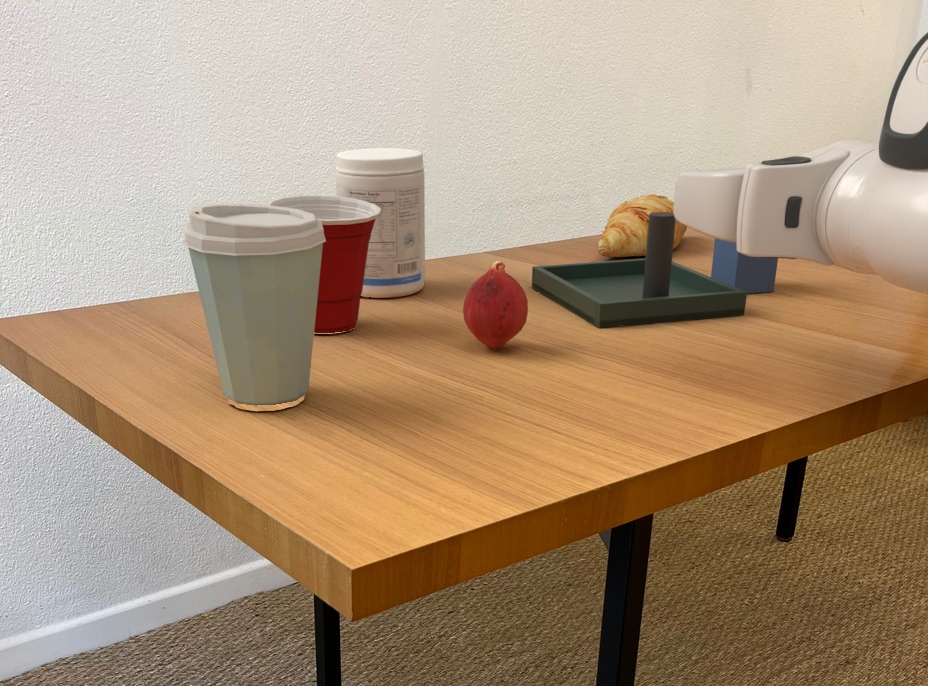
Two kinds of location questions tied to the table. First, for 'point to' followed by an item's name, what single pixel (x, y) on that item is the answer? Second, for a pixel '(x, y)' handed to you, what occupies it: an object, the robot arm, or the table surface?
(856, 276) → the table surface
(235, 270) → the disposable coffee cup
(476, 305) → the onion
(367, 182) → the supplement tub
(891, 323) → the table surface
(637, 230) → the croissant
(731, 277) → the block
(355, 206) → the plastic cup
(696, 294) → the tray
